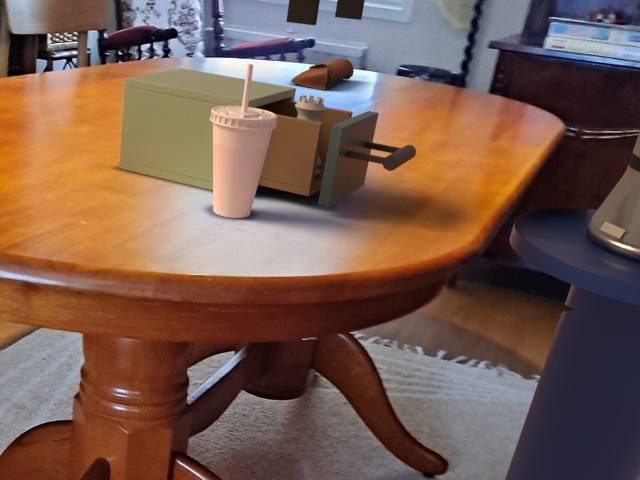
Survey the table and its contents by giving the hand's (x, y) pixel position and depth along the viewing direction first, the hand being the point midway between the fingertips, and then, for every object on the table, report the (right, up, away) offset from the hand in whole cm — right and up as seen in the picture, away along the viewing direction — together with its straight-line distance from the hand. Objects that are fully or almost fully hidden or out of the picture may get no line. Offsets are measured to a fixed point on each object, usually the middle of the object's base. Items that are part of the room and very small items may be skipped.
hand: (326, 21), depth 84 cm
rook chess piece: (-1, -14, +7) cm, 16 cm away
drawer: (0, -15, +7) cm, 17 cm away
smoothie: (-9, -19, 0) cm, 22 cm away
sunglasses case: (+16, +24, +84) cm, 89 cm away
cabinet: (-12, -12, +13) cm, 21 cm away
